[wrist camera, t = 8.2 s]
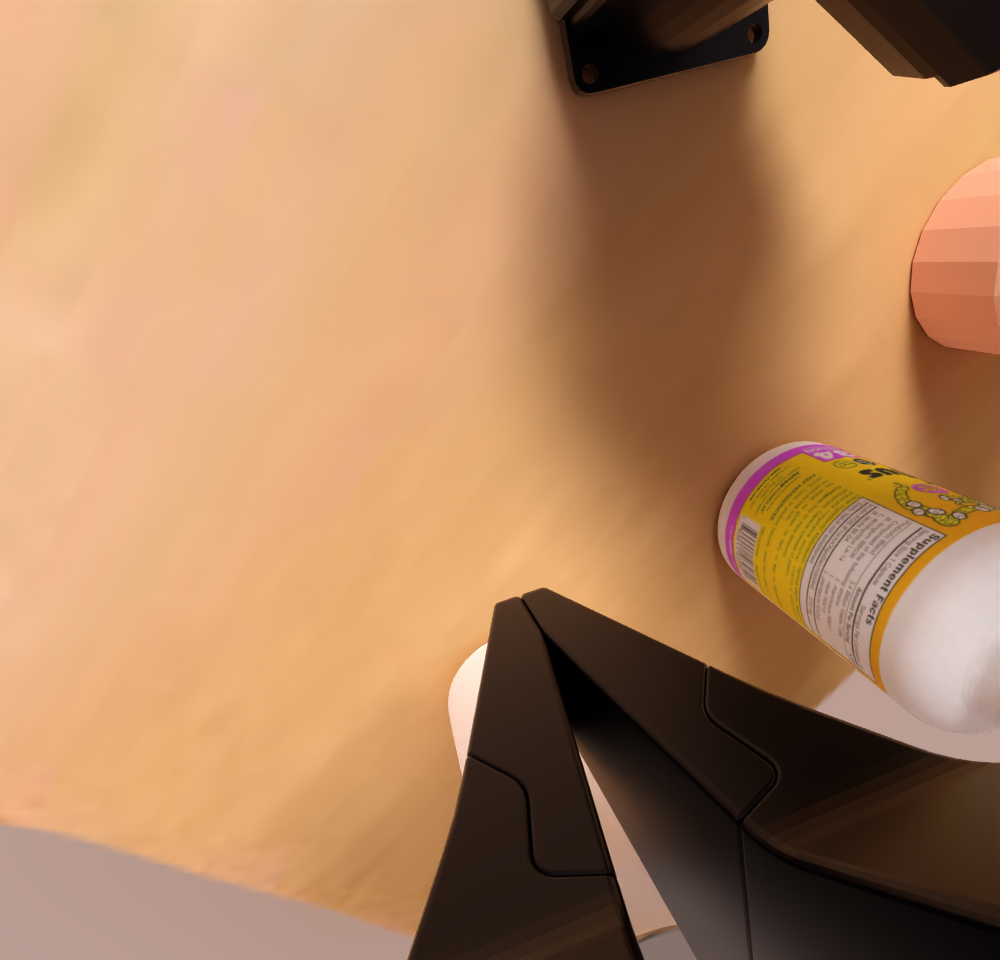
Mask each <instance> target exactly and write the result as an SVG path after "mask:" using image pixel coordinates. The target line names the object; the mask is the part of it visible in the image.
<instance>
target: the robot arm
mask: <svg viewBox="0 0 1000 960" xmlns="http://www.w3.org/2000/svg"><path fill="white" fill-rule="evenodd" d="M771 1H773V0H548V5H549V11H550V13H551V15H552V16H553V17H554V18H555V19H556V20H557V21H559V24H560V30H561V35H562V41H563V47H564V53H565V59H566V65H567V71H568V77H569V82H570V85H571V88H572V90H573V91H574V92H575V93H576V94H577V95H579V96H581V97H589V96H593V95H597V94H601V93H605V92H609V91H613V90H617V89H621V88H625V87H629V86H633V85H637V84H641V83H645V82H649V81H653V80H657V79H661V78H664V77H668V76H672V75H676V74H680V73H684V72H688V71H692V70H696V69H700V68H704V67H708V66H712V65H716V64H720V63H724V62H728V61H732V60H736V59H740V58H744V57H748V56H750V55H752V54H754V53H756V52H758V51H760V50H761V49H762V48H763V47H764V46H765V44H766V42H767V40H768V36H769V18H768V3H769V2H771ZM816 1H817V2H818V3H819V4H820V5H821V6H822V7H823V8H824V9H825V10H826V11H827V12H828V13H829V14H830V15H831V16H832V17H833V18H834V19H835V20H836V21H837V22H838V23H839V24H840V25H841V26H842V27H843V28H845V29H846V30H847V31H848V32H849V33H850V34H851V35H852V36H853V37H854V38H855V39H856V40H857V41H858V42H859V43H860V44H861V45H862V46H863V47H864V48H865V49H866V50H867V51H868V52H869V53H870V54H871V55H872V56H873V57H874V58H875V59H876V60H877V61H879V62H880V63H881V64H882V65H883V66H884V67H885V68H886V69H887V70H888V71H889V72H890V73H891V74H892V75H893V76H902V77H912V78H922V79H927V78H932V77H935V78H936V79H937V80H938V81H939V82H940V83H941V84H942V85H943V86H944V87H952V86H955V85H958V84H961V83H964V82H968V81H971V80H974V79H977V78H980V77H983V76H987V75H989V74H992V73H995V72H998V71H1000V0H816ZM749 28H750V29H751V30H752V31H753V34H754V39H753V42H752V43H751V42H750V41H749V40H748V36H747V33H748V29H749ZM583 68H588V69H589V70H590V71H591V73H592V75H593V78H592V83H591V84H587V83H586V82H584V81H583V78H582V69H583ZM579 752H580V753H579ZM580 754H581V756H582V758H583V759H584V761H585V763H586V765H587V766H588V768H589V770H590V772H591V773H592V775H593V777H594V779H595V781H596V782H597V784H598V786H599V788H600V789H601V791H602V793H603V795H604V796H605V798H606V800H607V802H608V804H609V805H610V807H611V809H612V811H613V812H614V814H615V816H616V818H617V819H618V821H619V823H620V825H621V827H622V828H623V830H624V832H625V834H626V835H627V837H628V839H629V841H630V842H631V844H632V846H633V848H634V849H635V851H636V853H637V855H638V857H639V858H640V860H641V862H642V864H643V865H644V867H645V869H646V871H647V872H648V874H649V876H650V878H651V880H652V881H653V883H654V885H655V887H656V888H657V890H658V892H659V894H660V895H661V897H662V899H663V901H664V903H665V904H666V906H667V908H668V910H669V911H670V913H671V915H672V917H673V918H674V920H675V922H676V924H677V926H678V927H679V929H680V931H681V933H682V934H683V936H684V938H685V940H686V941H687V943H688V945H689V947H690V949H691V950H692V952H693V954H694V956H695V957H696V959H697V960H1000V763H990V762H976V761H968V760H962V759H956V758H952V757H948V756H944V755H940V754H936V753H933V752H929V751H926V750H923V749H920V748H917V747H914V746H911V745H908V744H906V743H903V742H900V741H898V740H895V739H892V738H890V737H887V736H884V735H881V734H879V733H876V732H873V731H870V730H868V729H865V728H862V727H859V726H857V725H854V724H851V723H848V722H846V721H843V720H840V719H838V718H835V717H832V716H829V715H827V714H824V713H821V712H818V711H816V710H813V709H810V708H808V707H805V706H803V705H800V704H797V703H795V702H792V701H790V700H787V699H785V698H782V697H779V696H777V695H774V694H772V693H769V692H767V691H764V690H762V689H760V688H758V687H755V686H753V685H751V684H749V683H746V682H744V681H742V680H740V679H737V678H735V677H733V676H731V675H729V674H727V673H724V672H722V671H720V670H718V669H716V668H714V667H712V666H709V667H708V668H707V665H706V664H705V663H703V662H701V661H699V660H697V659H695V658H692V657H690V656H688V655H686V654H684V653H682V652H680V651H678V650H676V649H673V648H671V647H669V646H667V645H665V644H663V643H661V642H659V641H657V640H655V639H652V638H650V637H648V636H646V635H644V634H642V633H640V632H638V631H636V630H633V629H631V628H629V627H627V626H625V625H623V624H621V623H619V622H617V621H615V620H612V619H610V618H608V617H606V616H604V615H602V614H600V613H598V612H596V611H593V610H591V609H589V608H587V607H585V606H583V605H581V604H579V603H577V602H575V601H572V600H570V599H568V598H566V597H564V596H562V595H560V594H558V593H556V592H553V591H551V590H549V589H547V588H539V589H536V590H534V591H531V592H528V593H525V594H523V595H522V596H521V598H519V597H513V598H510V599H507V600H504V601H501V602H499V603H497V604H496V605H495V607H494V612H493V617H492V622H491V628H490V633H489V638H488V644H487V649H486V654H485V660H484V665H483V671H482V676H481V681H480V687H479V692H478V697H477V703H476V708H475V714H474V719H473V724H472V730H471V735H470V740H469V746H468V751H467V759H466V761H465V766H464V771H463V776H462V782H461V786H460V791H459V795H458V799H457V804H456V808H455V813H454V817H453V820H452V824H451V827H450V830H449V834H448V837H447V840H446V844H445V847H444V850H443V854H442V857H441V860H440V863H439V866H438V869H437V872H436V875H435V878H434V881H433V884H432V887H431V890H430V893H429V896H428V899H427V902H426V905H425V908H424V911H423V914H422V917H421V920H420V923H419V926H418V929H417V932H416V935H415V938H414V941H413V944H412V947H411V951H410V954H409V956H408V959H407V960H644V957H643V954H642V952H641V949H640V947H639V944H638V941H637V938H636V936H635V933H634V930H633V927H632V924H631V921H630V918H629V915H628V912H627V909H626V905H625V902H624V899H623V896H622V892H621V889H620V886H619V883H618V881H617V876H616V873H615V869H614V866H613V863H612V859H611V856H610V853H609V849H608V846H607V843H606V839H605V836H604V833H603V829H602V826H601V823H600V819H599V816H598V813H597V810H596V806H595V803H594V800H593V796H592V793H591V790H590V786H589V783H588V780H587V776H586V773H585V770H584V766H583V763H582V760H581V756H580Z"/></svg>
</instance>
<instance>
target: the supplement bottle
mask: <svg viewBox="0 0 1000 960" xmlns="http://www.w3.org/2000/svg"><path fill="white" fill-rule="evenodd" d="M718 541H719V546H720V549H721V552H722V555H723V557H724V559H725V560H726V562H727V564H728V565H729V566H730V568H731V569H732V570H733V571H734V572H735V573H736V574H737V575H738V576H740V577H741V578H742V579H743V580H745V581H746V582H747V583H748V584H749V585H751V586H752V587H753V588H755V589H756V590H757V591H758V592H759V593H761V594H762V595H763V596H764V597H766V598H767V599H768V600H769V601H771V602H772V603H773V604H775V605H776V606H777V607H778V608H780V609H781V610H782V611H783V612H785V613H786V614H787V615H788V616H790V617H791V618H792V619H793V620H795V621H796V622H797V623H798V624H800V625H801V626H802V627H803V628H805V629H806V630H807V631H808V632H810V633H811V634H812V635H813V636H815V637H816V638H817V639H818V640H820V641H821V642H822V643H823V644H825V645H826V646H827V647H828V648H830V649H831V650H832V651H834V652H835V653H836V654H837V655H839V656H840V657H841V658H842V659H844V660H845V661H846V662H847V663H849V664H850V665H851V666H852V667H854V668H855V669H856V670H857V671H859V672H860V673H861V674H862V675H864V676H865V677H866V678H867V679H869V680H870V681H871V682H872V683H874V684H875V685H876V686H877V687H879V688H880V689H881V690H882V691H884V692H885V693H886V694H887V695H888V696H890V697H891V698H892V699H893V700H895V701H896V702H897V703H898V704H900V705H901V706H902V707H903V708H905V709H906V710H907V711H908V712H910V713H911V714H912V715H914V716H915V717H917V718H918V719H920V720H922V721H923V722H926V723H927V724H930V725H932V726H934V727H937V728H940V729H943V730H947V731H952V732H957V733H984V732H992V731H996V730H1000V509H997V508H995V507H992V506H989V505H987V504H984V503H982V502H979V501H976V500H974V499H971V498H968V497H966V496H963V495H960V494H958V493H955V492H953V491H950V490H948V489H945V488H942V487H939V486H937V485H934V484H932V483H929V482H926V481H923V480H921V479H918V478H916V477H913V476H910V475H908V474H905V473H902V472H900V471H897V470H895V469H892V468H889V467H887V466H884V465H881V464H879V463H876V462H873V461H871V460H868V459H865V458H863V457H860V456H857V455H855V454H852V453H849V452H846V451H844V450H841V449H838V448H835V447H832V446H829V445H826V444H822V443H818V442H810V441H800V442H792V443H787V444H784V445H780V446H778V447H775V448H773V449H771V450H769V451H767V452H765V453H763V454H762V455H760V456H759V457H758V458H756V459H755V460H754V461H752V462H751V463H750V464H749V465H748V466H747V467H746V468H745V469H744V470H743V471H742V472H741V473H740V474H739V475H738V477H737V478H736V480H735V481H734V483H733V484H732V486H731V487H730V489H729V491H728V493H727V495H726V497H725V499H724V501H723V504H722V506H721V510H720V514H719V518H718Z"/></svg>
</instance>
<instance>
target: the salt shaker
mask: <svg viewBox="0 0 1000 960" xmlns="http://www.w3.org/2000/svg"><path fill="white" fill-rule="evenodd" d="M911 296H912V301H913V306H914V311H915V315H916V318H917V320H918V321H919V323H920V325H921V326H922V328H923V329H924V331H925V332H926V334H927V336H928V337H930V338H932V339H933V340H935V341H937V342H938V343H940V344H941V345H943V346H945V347H950V348H957V349H964V350H971V351H978V352H985V353H992V354H999V355H1000V157H998V158H993V159H989V160H986V161H985V162H983V163H982V164H980V165H978V166H977V167H975V168H974V169H972V170H971V171H969V172H967V173H966V174H964V175H963V176H962V177H961V178H960V179H959V180H958V181H957V182H956V183H955V184H954V185H953V186H952V188H951V189H950V190H949V191H948V192H947V193H946V194H945V195H944V196H943V197H942V198H941V200H940V201H939V203H938V204H937V206H936V208H935V210H934V211H933V213H932V215H931V217H930V218H929V220H928V222H927V224H926V225H925V227H924V229H923V231H922V234H921V237H920V240H919V244H918V247H917V250H916V253H915V256H914V260H913V265H912V279H911Z"/></svg>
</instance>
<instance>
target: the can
mask: <svg viewBox="0 0 1000 960" xmlns="http://www.w3.org/2000/svg"><path fill="white" fill-rule="evenodd" d="M487 644H488V642H487V643H485V644H484V645H482V646H481V647H480V648H478V649H477V650H476V651H475V652H474V653H473V654H472V655H471V656H470V657H469V658H468V659H467V660H466V661H465V662H464V663H463V665H462V666H461V667H460V669H459V670H458V672H457V674H456V675H455V677H454V679H453V682H452V684H451V687H450V691H449V697H448V710H449V717H450V722H451V727H452V732H453V737H454V741H455V746H456V750H457V755H458V760H459V764H460V769H461V773H462V776H463V771H464V766H465V761H466V759H467V751H468V746H469V740H470V735H471V730H472V724H473V719H474V714H475V708H476V703H477V697H478V692H479V687H480V681H481V676H482V671H483V665H484V660H485V654H486V649H487ZM579 753H580V752H579ZM580 756H581V754H580ZM581 760H582V763H583V766H584V770H585V773H586V776H587V780H588V783H589V786H590V790H591V793H592V796H593V800H594V803H595V806H596V810H597V813H598V816H599V819H600V823H601V826H602V829H603V833H604V836H605V839H606V843H607V846H608V849H609V853H610V856H611V859H612V863H613V866H614V869H615V873H616V876H617V881H618V883H619V886H620V889H621V892H622V896H623V899H624V902H625V905H626V909H627V912H628V915H629V918H630V921H631V924H632V927H633V930H634V933H635V936H636V938H637V941H638V944H639V947H640V949H641V952H642V954H643V957H644V960H697V959H696V957H695V956H694V954H693V952H692V950H691V949H690V947H689V945H688V943H687V941H686V940H685V938H684V936H683V934H682V933H681V931H680V929H679V927H678V926H677V924H676V922H675V920H674V918H673V917H672V915H671V913H670V911H669V910H668V908H667V906H666V904H665V903H664V901H663V899H662V897H661V895H660V894H659V892H658V890H657V888H656V887H655V885H654V883H653V881H652V880H651V878H650V876H649V874H648V872H647V871H646V869H645V867H644V865H643V864H642V862H641V860H640V858H639V857H638V855H637V853H636V851H635V849H634V848H633V846H632V844H631V842H630V841H629V839H628V837H627V835H626V834H625V832H624V830H623V828H622V827H621V825H620V823H619V821H618V819H617V818H616V816H615V814H614V812H613V811H612V809H611V807H610V805H609V804H608V802H607V800H606V798H605V796H604V795H603V793H602V791H601V789H600V788H599V786H598V784H597V782H596V781H595V779H594V777H593V775H592V773H591V772H590V770H589V768H588V766H587V765H586V763H585V761H584V759H583V758H582V756H581Z"/></svg>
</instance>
